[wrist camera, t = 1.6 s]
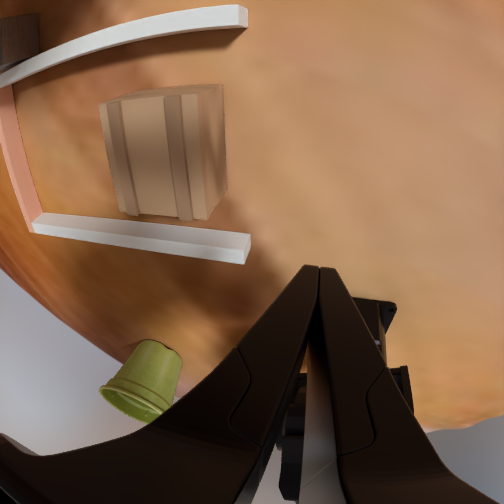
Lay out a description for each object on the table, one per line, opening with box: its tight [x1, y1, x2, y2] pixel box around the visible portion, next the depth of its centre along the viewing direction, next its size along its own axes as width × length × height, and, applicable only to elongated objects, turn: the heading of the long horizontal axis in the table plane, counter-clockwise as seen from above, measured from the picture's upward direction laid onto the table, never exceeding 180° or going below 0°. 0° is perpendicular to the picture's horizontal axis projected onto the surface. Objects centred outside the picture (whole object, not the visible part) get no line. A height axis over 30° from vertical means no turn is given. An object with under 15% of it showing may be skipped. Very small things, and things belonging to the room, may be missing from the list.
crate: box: [99, 84, 227, 221], centre depth 17 cm, size 7×6×4 cm
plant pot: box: [99, 340, 182, 424], centre depth 33 cm, size 9×9×9 cm
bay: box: [0, 4, 251, 264], centre depth 19 cm, size 16×23×2 cm
